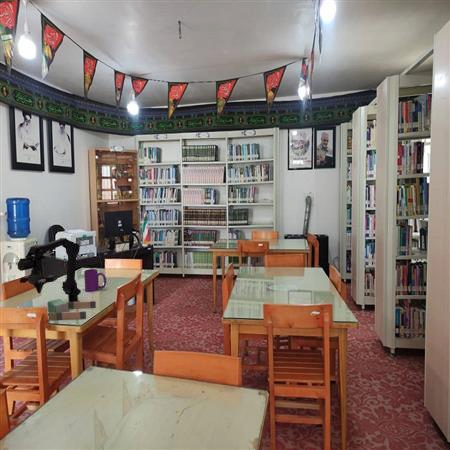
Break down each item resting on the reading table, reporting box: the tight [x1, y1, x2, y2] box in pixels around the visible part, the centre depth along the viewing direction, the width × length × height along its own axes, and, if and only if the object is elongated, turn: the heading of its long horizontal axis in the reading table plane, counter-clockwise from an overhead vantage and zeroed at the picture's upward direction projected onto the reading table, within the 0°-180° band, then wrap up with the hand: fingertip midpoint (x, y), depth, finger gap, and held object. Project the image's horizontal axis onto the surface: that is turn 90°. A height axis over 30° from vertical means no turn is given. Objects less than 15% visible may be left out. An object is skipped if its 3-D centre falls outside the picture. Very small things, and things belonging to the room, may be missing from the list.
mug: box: [83, 268, 107, 293], centre depth 259 cm, size 9×16×15 cm, turn 90°
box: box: [47, 298, 70, 313], centre depth 210 cm, size 7×14×8 cm, turn 46°
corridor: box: [47, 300, 97, 321], centre depth 210 cm, size 20×24×4 cm
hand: (39, 293), depth 207 cm, fingers closed
